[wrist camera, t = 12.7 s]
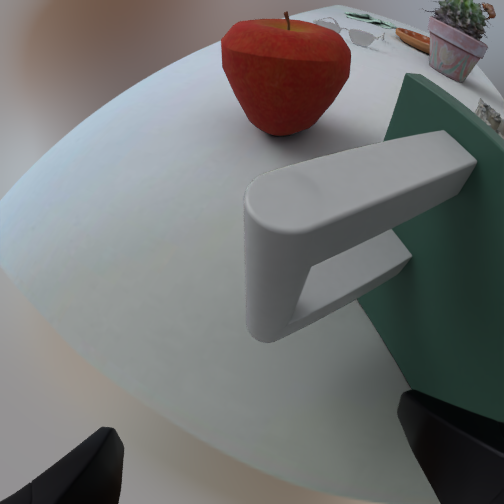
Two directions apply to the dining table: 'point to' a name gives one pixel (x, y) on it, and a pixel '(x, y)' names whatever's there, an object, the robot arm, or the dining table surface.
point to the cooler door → (393, 246)
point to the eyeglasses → (350, 33)
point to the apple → (284, 71)
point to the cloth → (370, 20)
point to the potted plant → (457, 37)
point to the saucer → (414, 39)
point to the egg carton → (490, 117)
